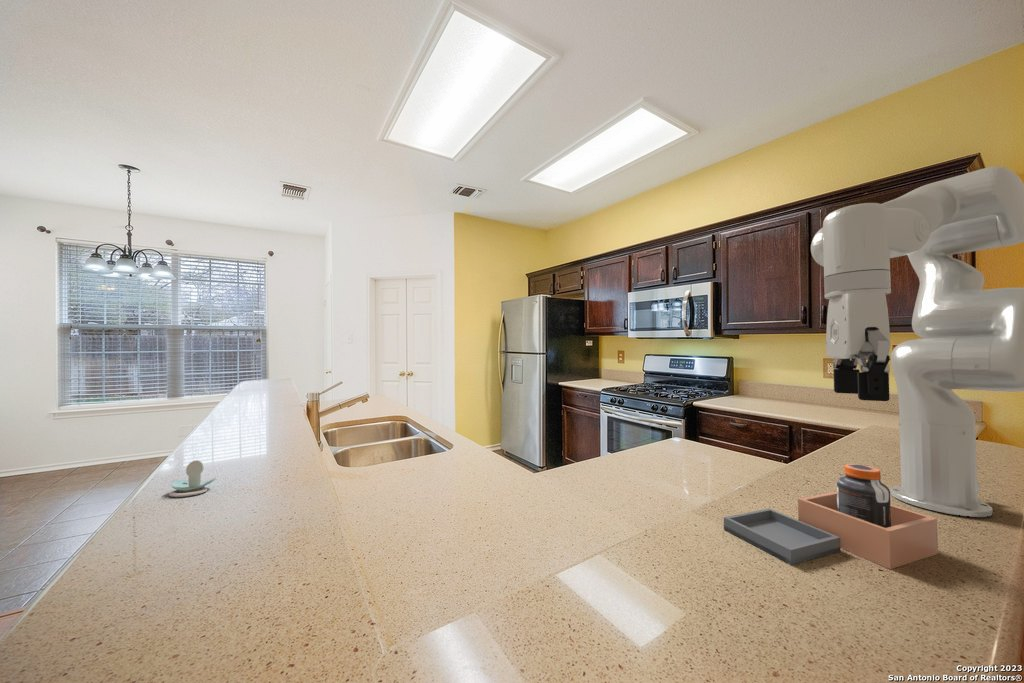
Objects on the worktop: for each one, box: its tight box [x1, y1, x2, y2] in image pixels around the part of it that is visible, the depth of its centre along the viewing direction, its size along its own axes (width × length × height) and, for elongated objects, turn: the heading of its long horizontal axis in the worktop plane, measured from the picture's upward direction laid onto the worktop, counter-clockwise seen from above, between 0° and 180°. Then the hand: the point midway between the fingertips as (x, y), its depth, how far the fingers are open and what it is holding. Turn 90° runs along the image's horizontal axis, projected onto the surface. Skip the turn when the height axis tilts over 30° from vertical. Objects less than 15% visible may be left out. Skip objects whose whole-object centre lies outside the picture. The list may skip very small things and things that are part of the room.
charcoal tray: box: [723, 507, 842, 566], centre depth 56 cm, size 10×10×2 cm
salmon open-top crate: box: [797, 490, 939, 570], centre depth 56 cm, size 11×11×5 cm
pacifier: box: [168, 460, 217, 498], centre depth 75 cm, size 7×6×6 cm
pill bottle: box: [836, 463, 891, 528], centre depth 56 cm, size 6×6×11 cm
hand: (859, 396), depth 56 cm, fingers open, 9 cm apart
